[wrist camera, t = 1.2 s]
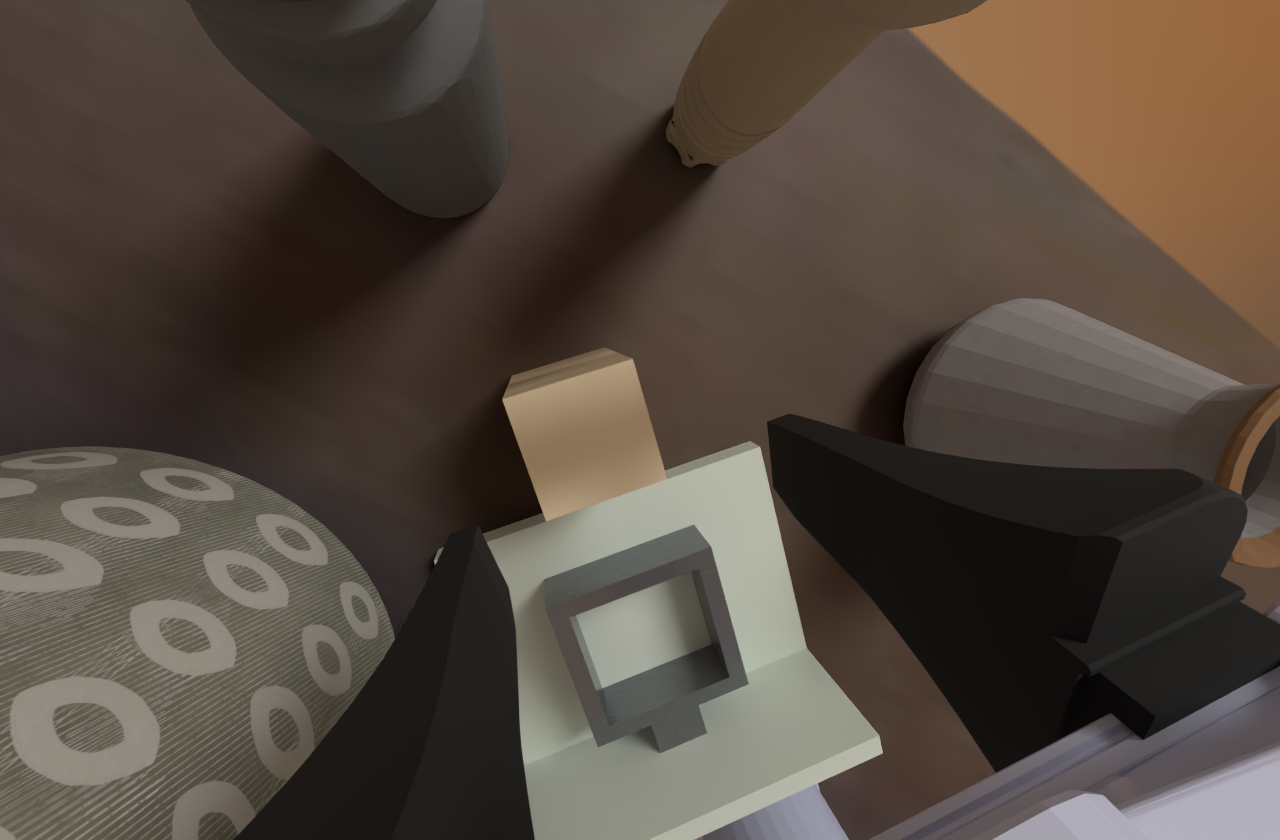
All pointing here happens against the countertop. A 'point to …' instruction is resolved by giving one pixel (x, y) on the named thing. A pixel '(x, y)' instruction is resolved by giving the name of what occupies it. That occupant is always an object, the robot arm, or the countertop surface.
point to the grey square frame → (670, 687)
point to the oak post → (583, 431)
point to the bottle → (381, 88)
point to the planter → (165, 644)
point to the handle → (777, 65)
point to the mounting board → (660, 632)
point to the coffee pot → (1097, 408)
